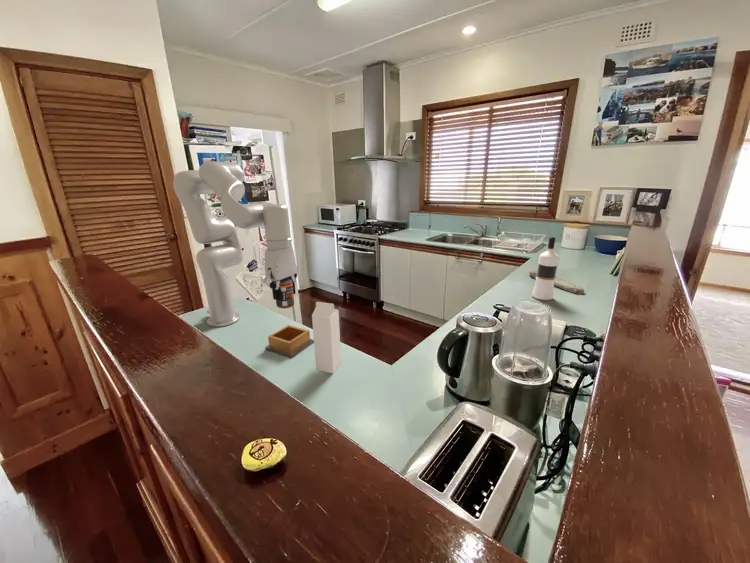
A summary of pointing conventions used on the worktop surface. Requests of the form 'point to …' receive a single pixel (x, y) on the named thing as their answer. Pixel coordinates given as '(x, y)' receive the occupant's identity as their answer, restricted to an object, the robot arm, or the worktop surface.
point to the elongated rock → (563, 284)
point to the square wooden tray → (289, 341)
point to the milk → (326, 337)
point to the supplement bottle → (286, 293)
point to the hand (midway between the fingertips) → (284, 296)
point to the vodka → (546, 273)
